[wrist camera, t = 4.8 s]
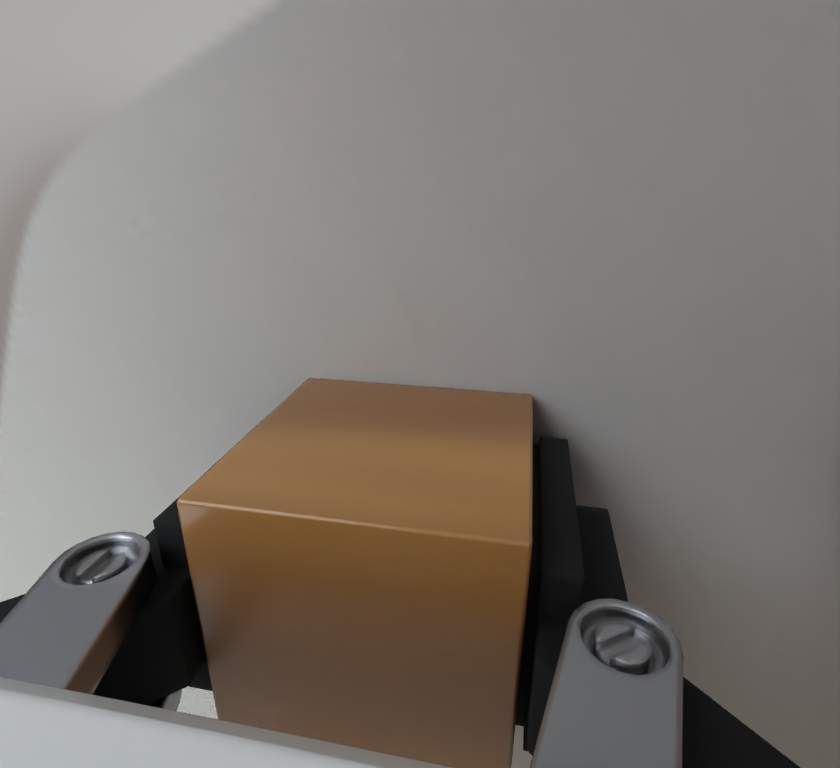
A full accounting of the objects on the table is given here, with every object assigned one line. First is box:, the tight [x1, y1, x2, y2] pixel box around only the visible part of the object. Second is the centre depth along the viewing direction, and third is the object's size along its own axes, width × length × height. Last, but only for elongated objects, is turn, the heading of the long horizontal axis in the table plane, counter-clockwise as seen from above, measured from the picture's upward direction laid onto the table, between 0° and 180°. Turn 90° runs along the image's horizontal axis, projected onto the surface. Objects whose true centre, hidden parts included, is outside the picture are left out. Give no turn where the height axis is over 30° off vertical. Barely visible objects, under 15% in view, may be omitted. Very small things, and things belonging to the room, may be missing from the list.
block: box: [177, 378, 533, 768], centre depth 9 cm, size 4×4×4 cm
